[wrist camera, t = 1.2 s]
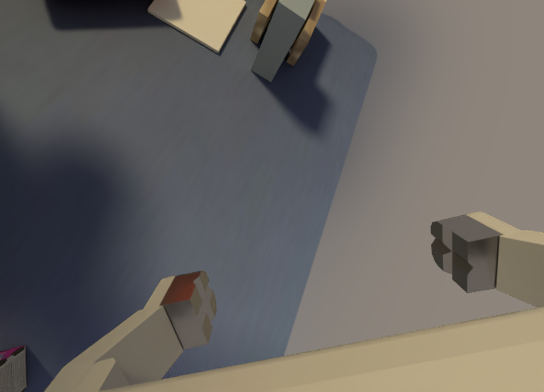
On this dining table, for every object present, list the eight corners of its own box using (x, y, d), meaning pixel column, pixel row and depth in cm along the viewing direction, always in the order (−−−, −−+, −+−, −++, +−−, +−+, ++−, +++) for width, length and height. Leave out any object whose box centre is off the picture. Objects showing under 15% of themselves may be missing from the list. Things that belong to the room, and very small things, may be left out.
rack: (250, 39, 47) (259, 11, 41) (272, -5, 50) (284, -36, 44) (293, 66, 49) (307, 43, 43) (312, 22, 52) (328, -4, 46)
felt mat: (148, 12, 41) (147, 9, 41) (182, -37, 45) (182, -40, 44) (218, 53, 44) (218, 51, 44) (245, 4, 48) (246, 1, 47)
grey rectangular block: (250, 70, 46) (278, 1, 33) (267, 37, 48) (299, -40, 35) (270, 82, 47) (305, 20, 34) (286, 49, 49) (324, -22, 36)
